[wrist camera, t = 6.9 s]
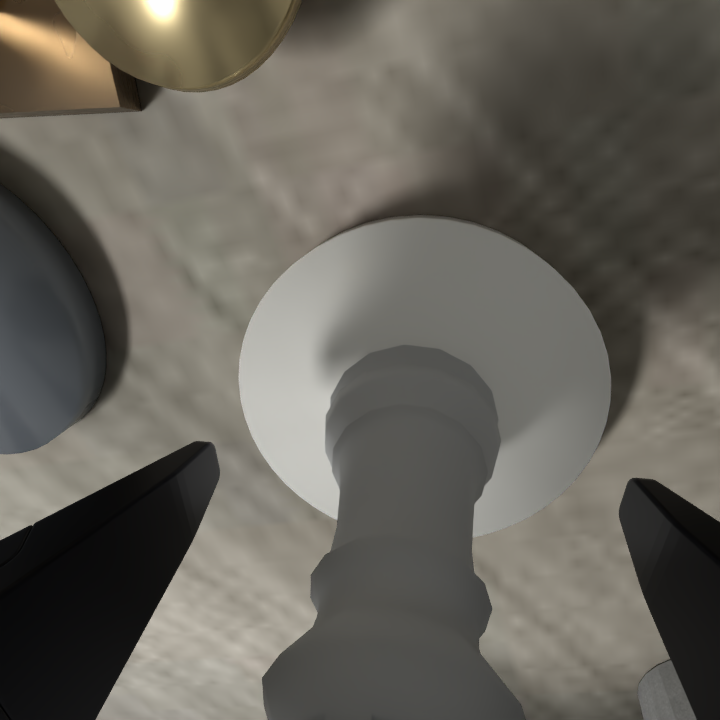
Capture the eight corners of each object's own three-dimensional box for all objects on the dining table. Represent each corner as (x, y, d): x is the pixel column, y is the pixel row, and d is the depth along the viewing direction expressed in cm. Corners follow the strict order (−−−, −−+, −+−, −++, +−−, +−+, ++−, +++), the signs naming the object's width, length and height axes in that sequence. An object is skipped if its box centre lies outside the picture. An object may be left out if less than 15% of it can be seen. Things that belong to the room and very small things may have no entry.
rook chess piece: (496, 331, 10) (665, 751, 3) (495, 475, 12) (597, 953, 5) (320, 342, 11) (107, 686, 4) (344, 475, 13) (233, 878, 6)
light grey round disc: (558, 527, 14) (568, 559, 13) (273, 498, 15) (261, 524, 14) (637, 213, 9) (662, 219, 8) (232, 215, 11) (210, 220, 10)
